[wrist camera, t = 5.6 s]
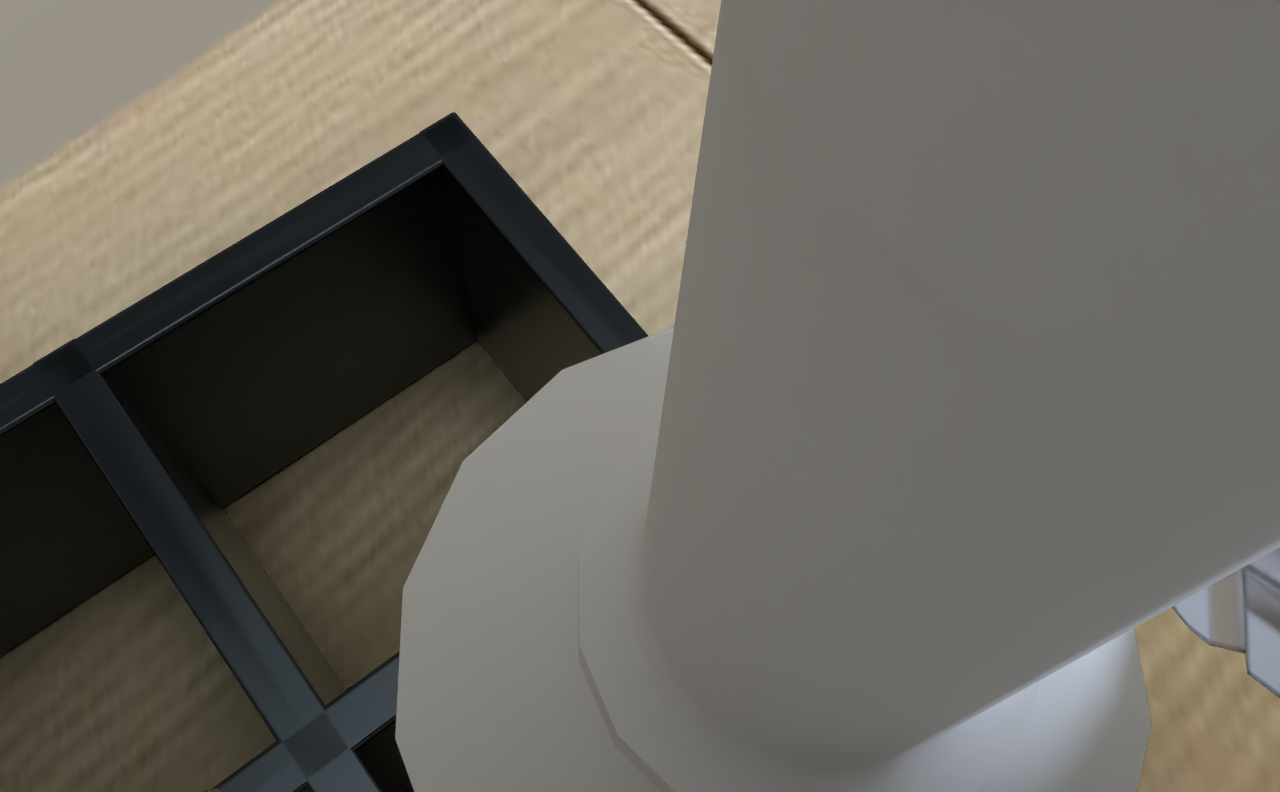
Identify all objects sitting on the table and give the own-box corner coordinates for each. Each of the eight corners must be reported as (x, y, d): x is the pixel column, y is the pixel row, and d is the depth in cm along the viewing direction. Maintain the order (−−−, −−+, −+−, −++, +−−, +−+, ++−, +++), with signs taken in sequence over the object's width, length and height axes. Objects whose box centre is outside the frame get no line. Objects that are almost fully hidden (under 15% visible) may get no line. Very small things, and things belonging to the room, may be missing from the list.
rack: (253, 1511, 19) (84, 1806, 13) (-165, 721, 24) (-445, 647, 17) (953, 865, 23) (1090, 844, 17) (486, 296, 28) (454, 109, 21)
